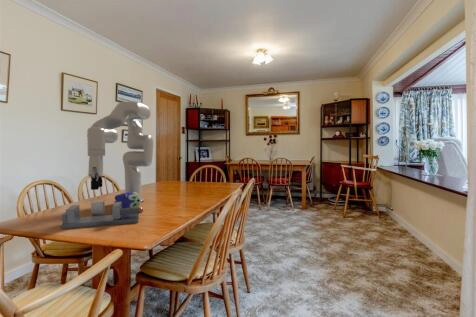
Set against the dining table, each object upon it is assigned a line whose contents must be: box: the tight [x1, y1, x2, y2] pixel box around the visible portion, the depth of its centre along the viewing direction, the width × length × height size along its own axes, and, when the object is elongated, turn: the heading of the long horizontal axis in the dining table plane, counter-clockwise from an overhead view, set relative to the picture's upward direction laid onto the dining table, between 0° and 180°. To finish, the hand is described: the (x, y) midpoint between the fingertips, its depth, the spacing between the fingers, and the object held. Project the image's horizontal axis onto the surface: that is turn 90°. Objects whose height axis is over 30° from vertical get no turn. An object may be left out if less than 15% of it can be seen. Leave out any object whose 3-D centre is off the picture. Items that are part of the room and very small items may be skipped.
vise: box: [61, 204, 140, 230], centre depth 121 cm, size 10×30×8 cm, turn 108°
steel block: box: [90, 199, 106, 217], centre depth 130 cm, size 5×5×8 cm
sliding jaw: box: [112, 201, 144, 219], centre depth 125 cm, size 9×13×6 cm
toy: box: [113, 192, 142, 209], centre depth 146 cm, size 10×17×15 cm
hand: (96, 188), depth 129 cm, fingers open, 9 cm apart
